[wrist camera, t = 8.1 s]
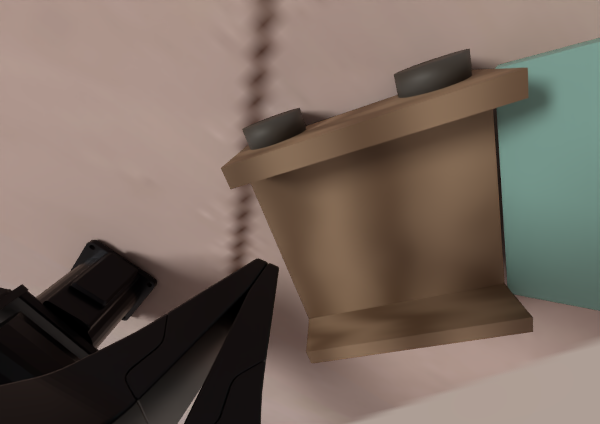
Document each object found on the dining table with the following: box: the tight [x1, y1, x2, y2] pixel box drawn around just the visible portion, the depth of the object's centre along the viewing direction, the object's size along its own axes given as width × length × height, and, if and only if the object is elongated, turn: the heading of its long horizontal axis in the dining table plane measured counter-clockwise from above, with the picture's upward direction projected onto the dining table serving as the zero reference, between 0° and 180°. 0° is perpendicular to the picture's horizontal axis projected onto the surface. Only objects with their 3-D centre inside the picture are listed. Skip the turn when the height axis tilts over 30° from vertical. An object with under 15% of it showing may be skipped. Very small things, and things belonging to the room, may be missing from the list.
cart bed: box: [221, 49, 533, 363], centre depth 18 cm, size 14×17×6 cm
